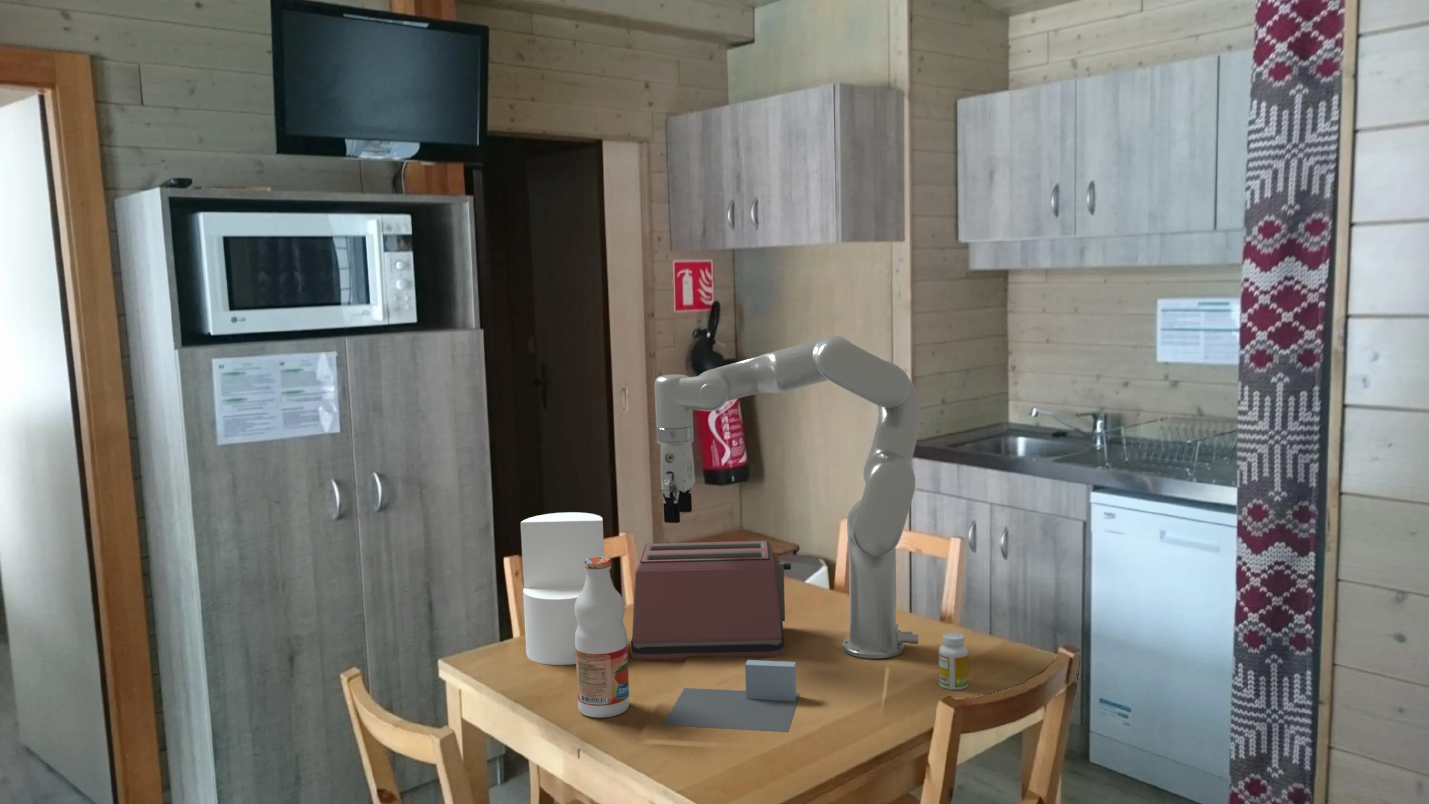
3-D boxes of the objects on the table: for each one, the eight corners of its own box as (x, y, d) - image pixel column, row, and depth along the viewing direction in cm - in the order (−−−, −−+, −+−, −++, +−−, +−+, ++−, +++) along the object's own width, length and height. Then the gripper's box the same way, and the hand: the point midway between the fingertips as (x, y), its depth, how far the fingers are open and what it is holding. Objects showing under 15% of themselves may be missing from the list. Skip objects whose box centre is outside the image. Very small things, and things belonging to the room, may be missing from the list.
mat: (800, 697, 200) (800, 693, 200) (788, 736, 184) (788, 731, 184) (684, 691, 205) (684, 687, 204) (662, 729, 188) (662, 724, 188)
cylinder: (535, 637, 238) (528, 513, 235) (613, 635, 238) (607, 511, 234) (518, 665, 221) (511, 532, 218) (602, 664, 221) (596, 530, 217)
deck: (796, 695, 199) (795, 661, 198) (794, 700, 197) (794, 666, 196) (748, 693, 201) (747, 659, 200) (746, 698, 198) (745, 664, 198)
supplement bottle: (969, 681, 205) (969, 632, 204) (966, 691, 200) (966, 641, 199) (941, 678, 207) (940, 629, 206) (937, 689, 202) (937, 639, 201)
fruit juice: (575, 701, 201) (568, 555, 198) (625, 695, 203) (619, 551, 200) (580, 721, 192) (573, 568, 189) (633, 715, 194) (627, 563, 191)
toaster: (794, 657, 221) (792, 560, 219) (629, 661, 222) (625, 564, 220) (790, 627, 240) (788, 537, 238) (638, 630, 241) (634, 541, 239)
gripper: (682, 441, 212) (685, 527, 214) (702, 428, 228) (705, 508, 230) (645, 441, 213) (649, 526, 215) (668, 429, 230) (671, 507, 232)
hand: (678, 517), depth 223 cm, fingers open, 9 cm apart
